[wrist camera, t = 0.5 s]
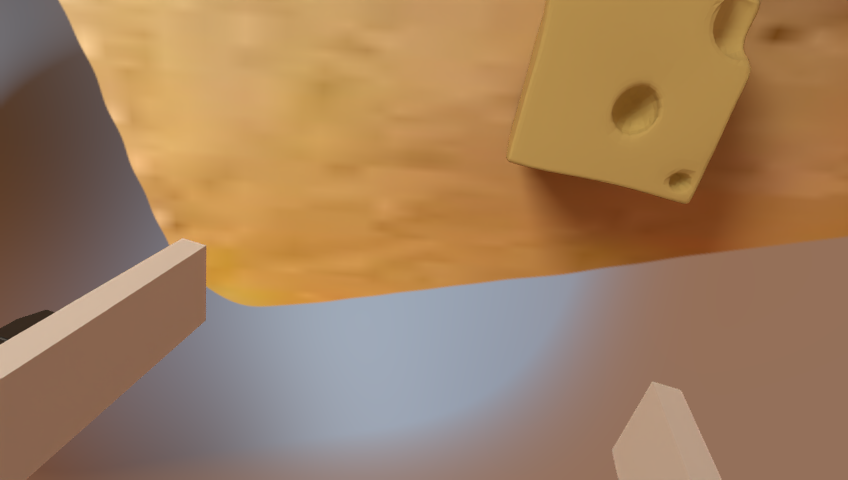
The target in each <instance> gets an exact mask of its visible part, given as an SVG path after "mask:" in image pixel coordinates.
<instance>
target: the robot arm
mask: <svg viewBox="0 0 848 480" xmlns="http://www.w3.org/2000/svg"><path fill="white" fill-rule="evenodd" d="M205 320H206V245H203V244H200V243H197V242H193V241H190V240H187V239H183V238H182V239H180V240H178V241H177V242H175V243H173V244H172V245H170V246H168V247H166V248H165V249H163V250H161V251H160V252H158V253H156V254H155V255H153V256H151V257H149V258H148V259H146V260H144V261H142V262H141V263H139V264H137V265H136V266H134V267H132V268H131V269H129V270H127V271H126V272H124V273H122V274H120V275H119V276H117V277H115V278H113V279H112V280H110V281H108V282H107V283H105V284H103V285H101V286H100V287H98V288H97V289H95V290H93V291H91V292H89V293H88V294H86V295H84V296H83V297H81V298H79V299H77V300H76V301H74V302H72V303H71V304H69V305H67V306H65V307H64V308H62V309H60V310H59V311H57V312H51V311H49V310H44V311H41V312H38V313H35V314H32V315H29V316H25V317H22V318H19V319H16V320H15V321H13V322H11V323H9V324H8V325H6V326H4V327H2V328H0V480H26V479H27V478H28V477H29V476H30V475H31V474H32V473H34V472H35V471H36V470H37V469H38V468H39V467H40V466H42V465H43V464H44V463H45V462H46V461H47V460H48V459H50V458H51V457H52V456H53V455H54V454H55V453H56V452H57V451H59V450H60V449H61V448H62V447H63V446H64V445H65V444H66V443H68V442H69V441H70V440H71V439H72V438H73V437H74V436H75V435H77V434H78V433H79V432H80V431H81V430H82V429H83V428H84V427H86V426H87V425H88V424H89V423H90V422H91V421H92V420H94V419H95V418H96V417H97V416H98V415H99V414H100V413H101V412H103V411H104V410H105V409H106V408H107V407H108V406H109V405H110V404H112V403H113V402H114V401H115V400H116V399H117V398H118V397H120V396H121V395H122V394H123V393H124V392H125V391H126V390H127V389H129V388H130V387H131V386H132V385H133V384H134V383H135V382H136V381H137V380H139V379H140V378H141V377H142V376H143V375H144V374H145V373H147V372H148V371H149V370H150V369H151V368H152V367H153V366H154V365H155V364H157V363H158V362H159V361H160V360H161V359H162V358H163V357H165V356H166V355H167V354H168V353H169V352H170V351H171V350H173V348H175V347H176V346H177V345H178V344H179V343H180V342H182V341H183V340H184V339H185V338H186V337H187V336H188V335H190V334H191V333H192V332H193V331H194V330H195V329H196V328H197V327H199V326H200V325H201V324H202V323H203V322H204V321H205ZM612 453H613V458H614V462H615V467H616V471H617V476H618V480H722V479H721V477H720V475H719V473H718V470H717V468H716V466H715V464H714V462H713V459H712V457H711V455H710V453H709V451H708V448H707V446H706V444H705V442H704V440H703V437H702V435H701V433H700V431H699V429H698V426H697V425H696V422H695V420H694V418H693V415H692V414H691V411H690V409H689V407H688V405H687V402H686V400H685V398H684V396H683V393H682V391H681V390H679V389H676V388H673V387H669V386H666V385H662V384H660V383H656V382H652V383H651V385H650V386H649V388H648V390H647V391H646V393H645V395H644V396H643V398H642V400H641V402H640V403H639V405H638V407H637V408H636V410H635V412H634V413H633V415H632V417H631V418H630V420H629V422H628V424H627V425H626V427H625V429H624V431H623V432H622V434H621V435H620V437H619V439H618V441H617V442H616V444H615V446H614V447H613V449H612Z"/></svg>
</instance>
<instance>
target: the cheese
mask: <svg viewBox="0 0 848 480" xmlns="http://www.w3.org/2000/svg"><path fill="white" fill-rule="evenodd" d="M759 7H760V0H546V2H545V8H544V14H543V18H542V21H541V24H540V27H539V31H538V34H537V37H536V41H535V45H534V48H533V52H532V56H531V59H530V63H529V67H528V71H527V74H526V78H525V82H524V86H523V90H522V93H521V97H520V101H519V104H518V108H517V111H516V115H515V118H514V121H513V125H512V128H511V133H510V137H509V142H508V148H507V156H506V158H507V160H508V161H509V162H511V163H515V164H518V165H522V166H526V167H530V168H534V169H538V170H543V171H548V172H553V173H559V174H564V175H569V176H575V177H580V178H585V179H590V180H596V181H600V182H605V183H610V184H614V185H618V186H622V187H626V188H630V189H634V190H637V191H641V192H644V193H648V194H651V195H654V196H658V197H661V198H665V199H668V200H672V201H675V202H679V203H683V204H687V203H689V202H690V200H691V199H692V197H693V195H694V193H695V191H696V189H697V187H698V184H699V182H700V180H701V178H702V176H703V174H704V171H705V169H706V167H707V165H708V163H709V161H710V159H711V157H712V155H713V153H714V151H715V149H716V147H717V144H718V142H719V140H720V138H721V136H722V133H723V131H724V129H725V127H726V124H727V122H728V120H729V118H730V116H731V114H732V111H733V109H734V107H735V105H736V103H737V101H738V99H739V97H740V95H741V93H742V91H743V89H744V86H745V84H746V82H747V80H748V77H749V74H750V71H751V66H750V63H749V59H748V58H747V56H746V55H745V53H744V42H745V38H746V35H747V33H748V31H749V28H750V26H751V24H752V22H753V20H754V19H755V17H756V15H757V13H758V10H759Z"/></svg>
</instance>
